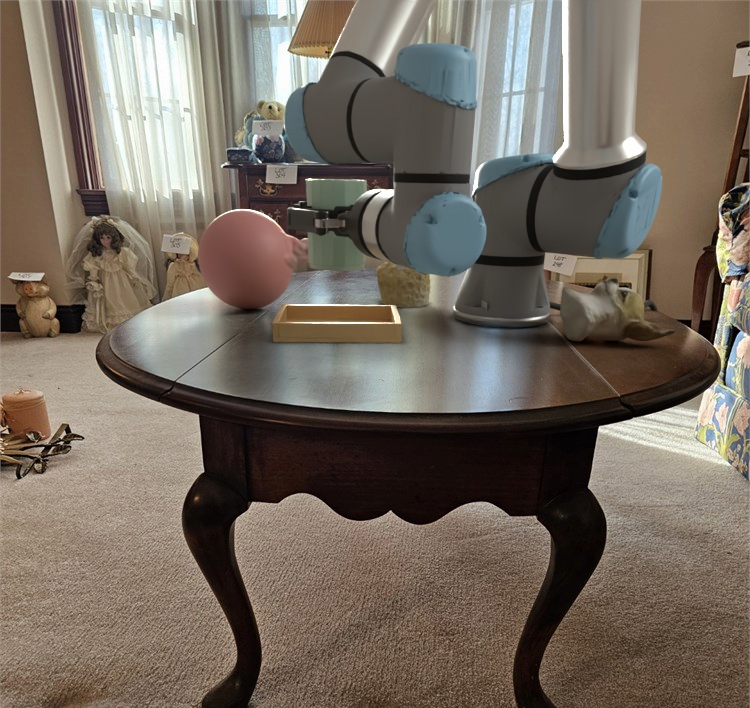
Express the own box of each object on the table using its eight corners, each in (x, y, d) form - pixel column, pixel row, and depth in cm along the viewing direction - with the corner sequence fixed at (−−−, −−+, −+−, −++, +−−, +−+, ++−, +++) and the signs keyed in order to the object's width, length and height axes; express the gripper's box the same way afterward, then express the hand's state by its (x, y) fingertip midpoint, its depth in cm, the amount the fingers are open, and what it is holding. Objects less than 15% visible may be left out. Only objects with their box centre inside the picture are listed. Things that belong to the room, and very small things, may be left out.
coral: (437, 306, 114) (439, 260, 110) (386, 308, 111) (387, 261, 108) (419, 297, 122) (421, 254, 118) (371, 299, 119) (372, 255, 116)
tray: (395, 322, 102) (396, 305, 101) (401, 342, 90) (401, 323, 89) (282, 321, 102) (281, 304, 100) (273, 342, 89) (272, 323, 88)
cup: (377, 266, 92) (378, 180, 87) (340, 272, 87) (339, 180, 82) (334, 261, 97) (333, 179, 92) (296, 266, 91) (293, 178, 86)
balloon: (314, 319, 103) (311, 213, 96) (190, 316, 104) (178, 211, 97) (328, 302, 117) (326, 208, 110) (219, 299, 118) (210, 206, 111)
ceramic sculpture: (551, 269, 93) (650, 275, 94) (540, 330, 96) (635, 335, 98) (581, 281, 83) (690, 288, 85) (567, 349, 87) (671, 354, 89)
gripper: (302, 264, 72) (254, 244, 91) (468, 258, 79) (392, 241, 98) (300, 189, 69) (250, 184, 87) (473, 190, 76) (393, 185, 95)
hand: (325, 214), depth 93 cm, fingers closed on cup, 8 cm apart
